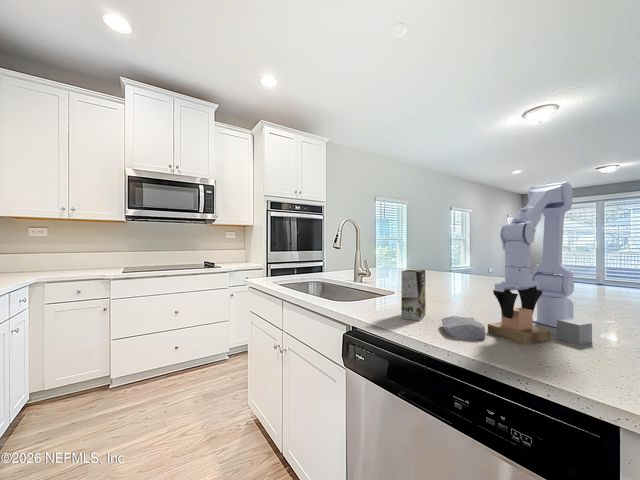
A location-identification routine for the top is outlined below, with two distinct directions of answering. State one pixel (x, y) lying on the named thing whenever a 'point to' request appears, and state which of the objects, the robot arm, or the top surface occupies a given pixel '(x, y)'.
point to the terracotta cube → (519, 319)
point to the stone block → (463, 327)
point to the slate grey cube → (574, 331)
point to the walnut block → (519, 334)
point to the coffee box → (413, 295)
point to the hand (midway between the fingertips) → (517, 316)
